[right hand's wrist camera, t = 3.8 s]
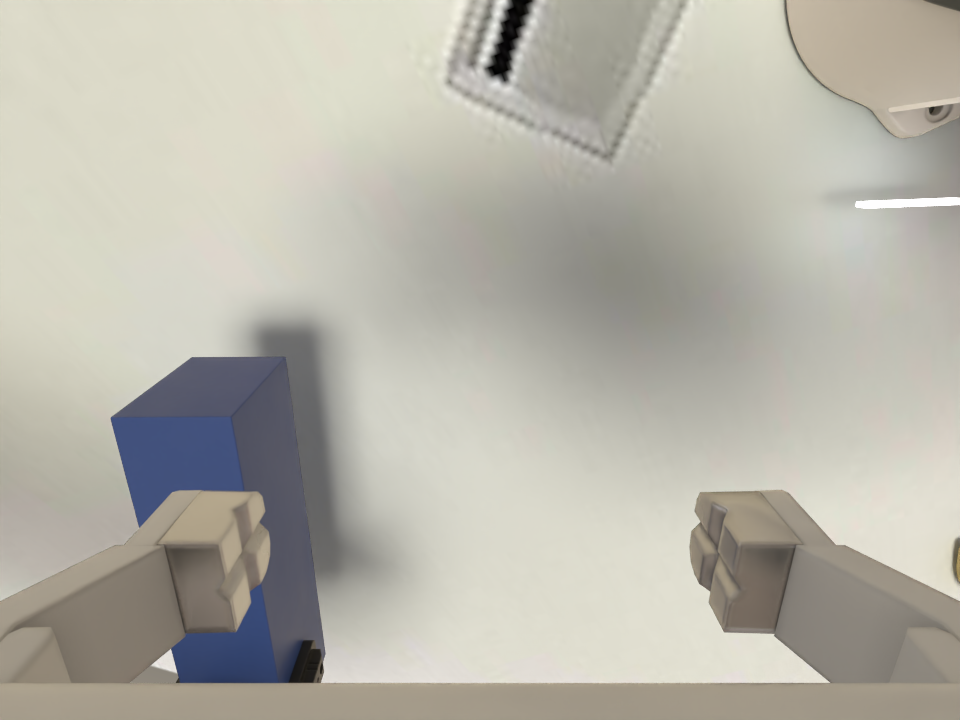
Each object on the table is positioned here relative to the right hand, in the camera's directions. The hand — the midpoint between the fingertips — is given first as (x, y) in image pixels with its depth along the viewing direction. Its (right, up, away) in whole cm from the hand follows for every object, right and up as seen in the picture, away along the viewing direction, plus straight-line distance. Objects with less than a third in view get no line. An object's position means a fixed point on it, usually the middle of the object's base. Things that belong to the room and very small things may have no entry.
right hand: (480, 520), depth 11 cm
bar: (-14, -8, +26) cm, 31 cm away
